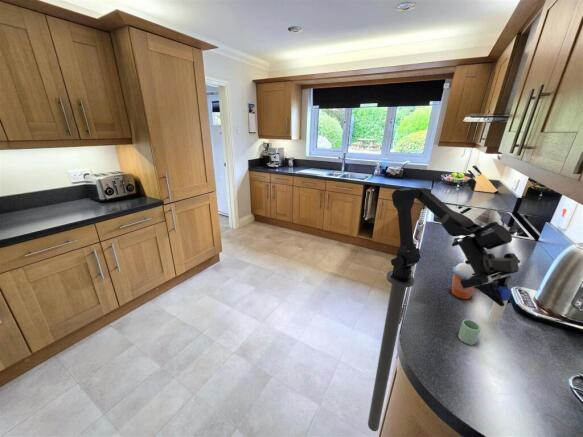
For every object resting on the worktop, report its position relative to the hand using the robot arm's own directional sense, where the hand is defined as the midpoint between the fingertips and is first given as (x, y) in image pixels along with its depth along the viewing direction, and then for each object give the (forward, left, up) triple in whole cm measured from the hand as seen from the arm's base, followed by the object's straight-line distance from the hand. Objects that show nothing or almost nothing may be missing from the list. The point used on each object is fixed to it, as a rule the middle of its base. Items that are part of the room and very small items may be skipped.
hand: (505, 304), depth 71 cm
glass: (-5, -5, -13) cm, 16 cm away
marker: (-1, 0, -7) cm, 7 cm away
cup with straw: (-14, +19, -14) cm, 27 cm away
